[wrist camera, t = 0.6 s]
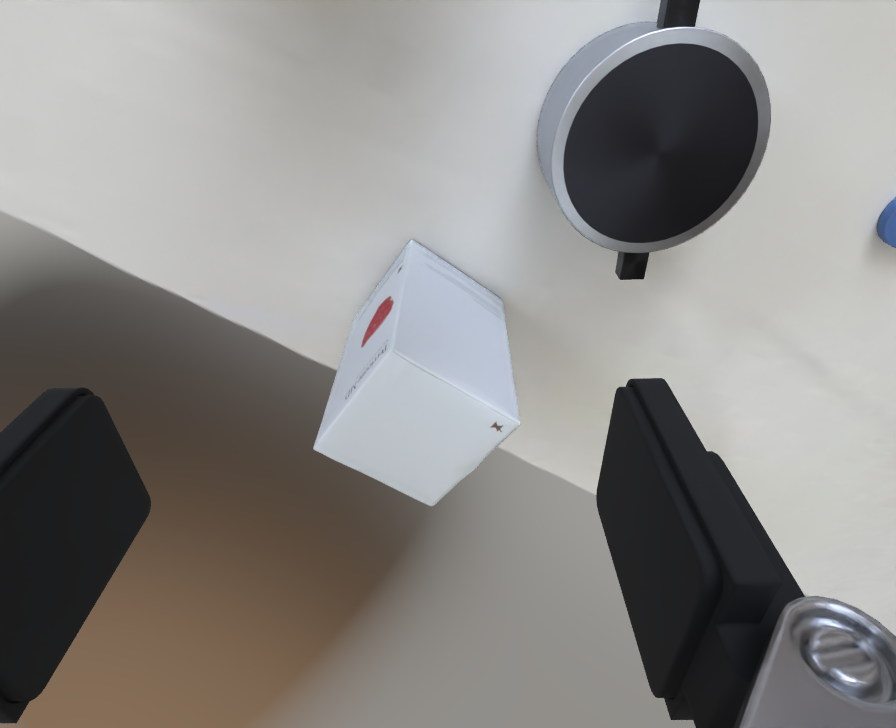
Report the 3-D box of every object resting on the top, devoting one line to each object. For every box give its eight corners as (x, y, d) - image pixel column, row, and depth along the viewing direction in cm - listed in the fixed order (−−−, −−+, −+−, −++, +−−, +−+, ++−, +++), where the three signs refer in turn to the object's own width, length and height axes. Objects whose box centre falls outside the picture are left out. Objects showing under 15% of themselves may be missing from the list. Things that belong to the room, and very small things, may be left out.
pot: (546, -17, 30) (565, -20, 25) (759, -24, 30) (820, -28, 25) (529, 248, 39) (541, 285, 34) (692, 244, 39) (727, 280, 34)
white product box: (410, 234, 39) (391, 345, 26) (505, 298, 42) (527, 425, 29) (348, 321, 43) (307, 451, 31) (438, 373, 46) (433, 512, 34)
